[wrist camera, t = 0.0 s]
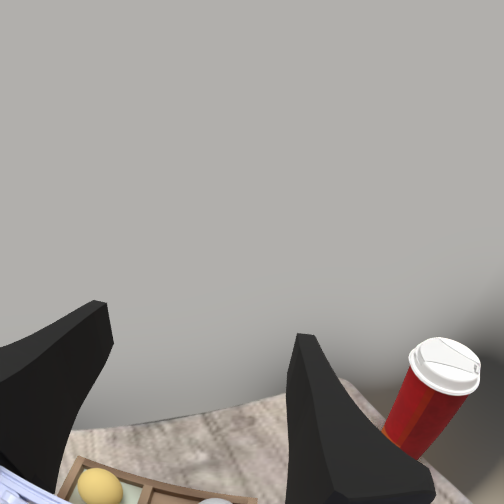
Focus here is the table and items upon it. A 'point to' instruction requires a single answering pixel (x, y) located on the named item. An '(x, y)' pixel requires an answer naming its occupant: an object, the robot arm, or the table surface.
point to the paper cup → (431, 393)
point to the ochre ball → (99, 487)
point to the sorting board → (141, 488)
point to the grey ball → (215, 501)
